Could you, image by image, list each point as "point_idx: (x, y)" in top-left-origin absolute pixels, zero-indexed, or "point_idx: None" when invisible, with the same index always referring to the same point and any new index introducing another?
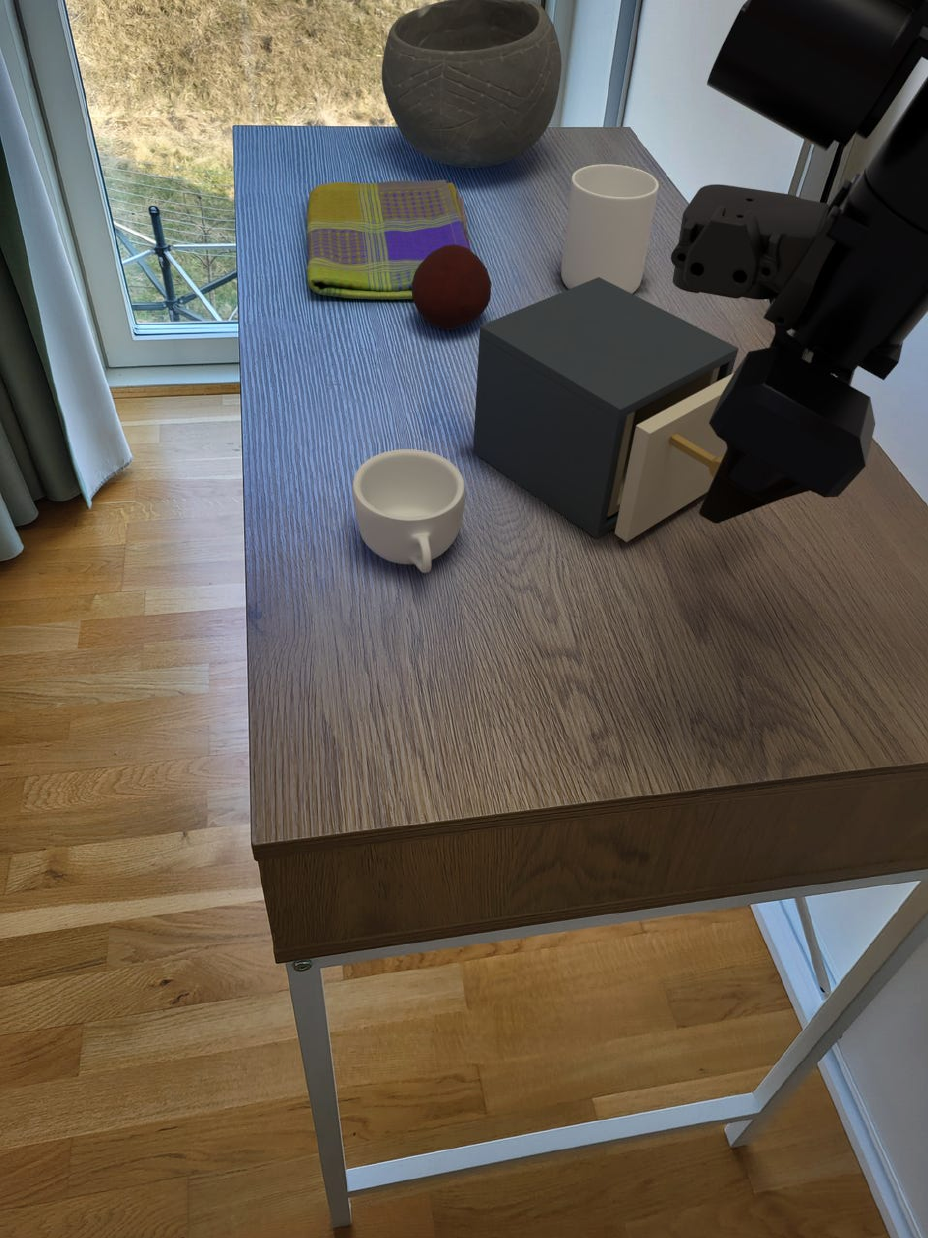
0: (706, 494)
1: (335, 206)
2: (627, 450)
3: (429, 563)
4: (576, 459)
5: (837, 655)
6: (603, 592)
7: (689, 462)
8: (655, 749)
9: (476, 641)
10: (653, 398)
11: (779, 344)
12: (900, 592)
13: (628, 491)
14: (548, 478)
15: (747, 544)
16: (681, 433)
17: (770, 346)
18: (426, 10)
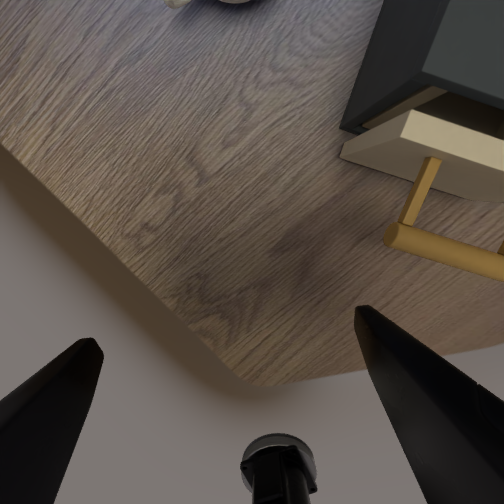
0: (56, 364)
1: None
2: None
3: (166, 1)
4: (385, 55)
5: (308, 333)
6: (278, 166)
7: (442, 177)
8: (162, 263)
9: (168, 100)
10: (489, 102)
11: (496, 492)
12: None
13: (362, 139)
14: (378, 38)
15: None
16: (450, 164)
17: (487, 456)
18: None
